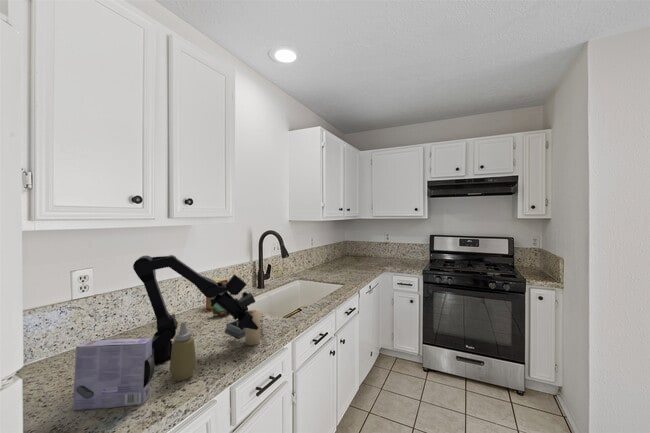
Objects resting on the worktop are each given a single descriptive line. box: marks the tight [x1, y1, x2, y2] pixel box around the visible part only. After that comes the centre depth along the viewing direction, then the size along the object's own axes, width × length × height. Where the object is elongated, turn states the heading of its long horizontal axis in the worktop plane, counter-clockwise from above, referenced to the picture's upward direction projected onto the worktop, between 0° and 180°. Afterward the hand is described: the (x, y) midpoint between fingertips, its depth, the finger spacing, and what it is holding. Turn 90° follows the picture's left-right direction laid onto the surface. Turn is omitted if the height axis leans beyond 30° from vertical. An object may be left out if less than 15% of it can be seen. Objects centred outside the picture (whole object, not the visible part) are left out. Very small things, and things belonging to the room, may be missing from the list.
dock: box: [224, 319, 245, 339], centre depth 130 cm, size 11×11×4 cm
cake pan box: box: [72, 337, 156, 411], centre depth 80 cm, size 19×5×18 cm, turn 99°
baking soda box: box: [205, 278, 228, 312], centre depth 161 cm, size 10×6×16 cm
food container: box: [212, 293, 234, 318], centre depth 149 cm, size 12×6×10 cm, turn 143°
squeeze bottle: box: [169, 321, 197, 382], centre depth 93 cm, size 8×8×18 cm
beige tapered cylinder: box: [244, 308, 261, 346], centre depth 118 cm, size 6×6×13 cm
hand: (256, 325), depth 119 cm, fingers closed on beige tapered cylinder, 6 cm apart
